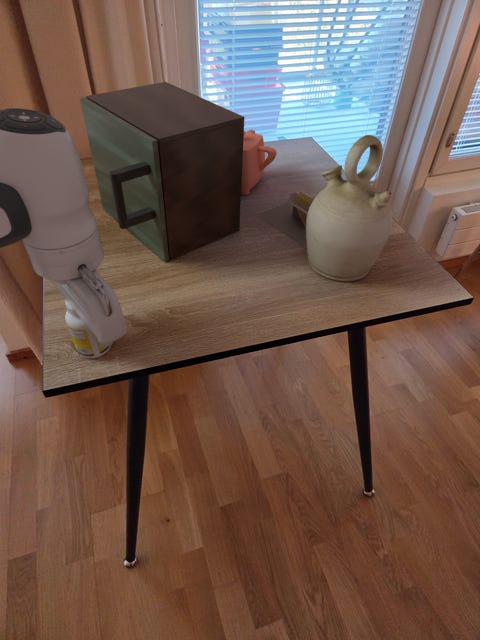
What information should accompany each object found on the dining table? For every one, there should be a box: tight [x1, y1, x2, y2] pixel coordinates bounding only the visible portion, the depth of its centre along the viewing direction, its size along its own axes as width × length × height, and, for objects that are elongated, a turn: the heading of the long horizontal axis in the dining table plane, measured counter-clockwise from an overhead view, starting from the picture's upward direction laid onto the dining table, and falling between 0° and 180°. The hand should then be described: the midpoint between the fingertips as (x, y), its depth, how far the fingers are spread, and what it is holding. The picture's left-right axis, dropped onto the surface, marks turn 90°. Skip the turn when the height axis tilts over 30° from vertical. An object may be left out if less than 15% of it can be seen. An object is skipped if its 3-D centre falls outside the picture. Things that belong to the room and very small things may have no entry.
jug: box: [306, 134, 393, 282], centre depth 75 cm, size 15×16×25 cm
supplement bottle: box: [64, 299, 112, 359], centre depth 62 cm, size 5×5×10 cm
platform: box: [256, 190, 315, 251], centre depth 92 cm, size 12×18×7 cm, turn 37°
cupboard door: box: [79, 96, 170, 263], centre depth 79 cm, size 8×26×23 cm, turn 40°
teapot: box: [241, 129, 277, 196], centre depth 102 cm, size 17×16×13 cm
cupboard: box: [85, 81, 245, 261], centre depth 85 cm, size 18×26×24 cm
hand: (90, 325), depth 62 cm, fingers open, 8 cm apart
